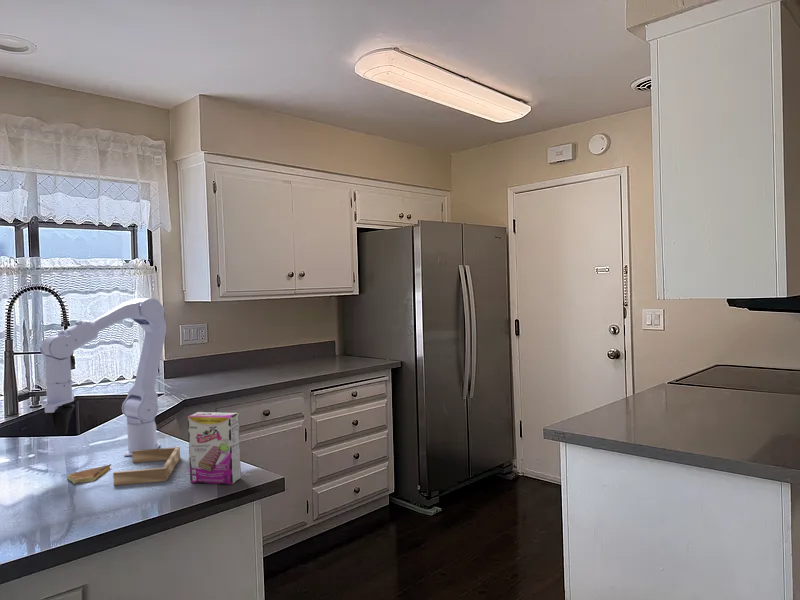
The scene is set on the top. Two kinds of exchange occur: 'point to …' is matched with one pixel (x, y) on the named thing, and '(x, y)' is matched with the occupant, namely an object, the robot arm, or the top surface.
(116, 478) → the frame
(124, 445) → the top surface
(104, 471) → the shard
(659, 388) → the top surface
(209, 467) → the candy bar box
